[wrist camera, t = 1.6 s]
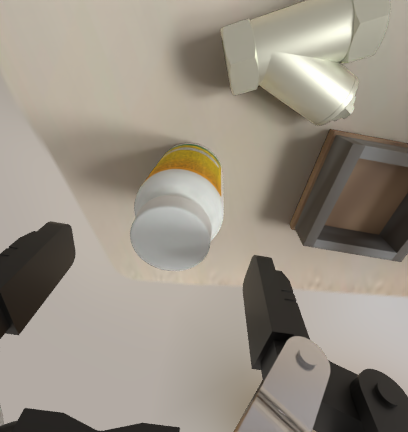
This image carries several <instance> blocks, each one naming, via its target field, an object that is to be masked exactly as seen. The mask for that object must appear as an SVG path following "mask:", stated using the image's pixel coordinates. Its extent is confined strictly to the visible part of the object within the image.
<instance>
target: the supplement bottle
mask: <svg viewBox="0 0 408 432" xmlns="http://www.w3.org/2000/svg"><path fill="white" fill-rule="evenodd" d="M134 211H135V217H136V218H135V220H134V222H133V224H132V227H131V231H130V239H131V243H132V246H133V248H134V250H135V252H136V253H137V254H138V256H139V257H140V258H141V259H143V260H144V261H145V262H147V263H148V264H150V265H151V266H154V267H156V268H159V269H162V270H167V271H182V270H187V269H190V268H192V267H194V266H196V265H198V264H199V263H200V262H202V261H203V259H204V258H205V257H206V255H207V254H208V251H209V248H210V242H211V240H212V239H213V238H214V237H215V236H216V235H217V233H218V232H219V230H220V228H221V225H222V222H223V216H224V195H223V170H222V167H221V164H220V162H219V160H218V158H217V157H216V156H215V155H214V154H213V153H212V152H211V151H210V150H209V149H207V148H206V147H204V146H202V145H199V144H195V143H183V144H179V145H176V146H174V147H173V148H171V149H170V150H169V151H167V153H166V154H165V155H164V156H163V157H162V159H161V160H160V161H159V163H158V164H157V165H156V167H155V168H154V169H153V171H152V172H151V173H150V175H149V176H148V177H147V179H146V180H145V181H144V183H143V184H142V185H141V187H140V189H139V191H138V193H137V195H136V199H135V205H134Z"/></svg>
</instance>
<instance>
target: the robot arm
mask: <svg viewBox="0 0 408 432" xmlns="http://www.w3.org/2000/svg"><path fill="white" fill-rule="evenodd" d="M74 259H75V246H74V241H73V234H72V229H71V226H70V225H68V224H62V223H56V222H48V223H46V224H45V225H44V226H43V227H42V228H40V229H39V230H38V231H37V232H35V231H33V232H31V233H29V234H27V235H25V236H23V237H20V238H19V239H18V240H17V241H15V242H14V243H13V244H12V245H10V246H9V248H8V249H5V250H4V251H3V252H2V253H1V254H0V339H1V337H2V336H3V335H4V334H5V333H7V334H14V335H19V334H20V333H21V332H22V330H23V329H24V328H25V326H26V325H27V324H28V322H29V321H30V320H31V318H32V317H33V316H34V314H35V313H36V312H37V310H38V309H39V308H40V306H41V305H42V304H43V303H44V301H45V300H46V298H47V297H48V296H49V294H50V293H51V292H52V291H53V289H54V288H55V287H56V285H57V284H58V283H59V282H60V280H61V279H62V278H63V276H64V275H65V273H66V272H67V271H68V270H69V268H70V267H71V266H72V264H73V262H74ZM243 298H244V305H245V314H246V323H247V332H248V340H249V349H250V357H251V365H252V369H257V370H261V371H262V377H263V380H262V382H261V384H260V385H259V387H258V389H257V391H256V393H255V394H254V396H253V398H252V400H251V402H250V403H249V405H248V407H247V408H246V410H245V412H244V414H243V416H242V417H241V419H240V421H239V423H238V424H237V426H236V428H235V430H234V431H233V432H312V429H313V430H315V431H317V432H408V397H407V395H406V394H405V392H404V391H403V390H402V389H401V388H400V386H399V385H398V384H397V383H396V382H395V381H393V380H392V379H391V378H390V377H388V376H387V375H385V374H383V373H382V372H379V371H377V370H374V369H366V370H363V371H362V372H361V373H360V374H359V375H357V374H355V373H353V372H351V371H349V370H347V369H345V368H342V367H340V366H338V365H336V364H334V363H332V362H330V361H329V360H328V359H327V357H326V355H325V354H324V352H323V351H322V350H321V349H320V347H319V346H318V345H316V344H315V343H314V342H312V341H311V340H310V338H309V336H308V333H307V330H306V327H305V324H304V321H303V318H302V316H301V313H300V310H299V307H298V304H297V303H296V298H295V295H294V294H293V290H292V287H291V284H290V281H289V280H288V279H287V277H286V276H285V275H284V274H283V272H282V271H277V270H275V267H274V264H273V260H272V258H270V257H264V256H257V255H254V256H253V257H252V259H251V262H250V265H249V268H248V270H247V273H246V276H245V279H244V283H243ZM179 430H180V428H179V427H171V426H163V425H155V424H147V423H140V424H135V425H130V426H125V427H120V428H115V429H110V430H105V431H97V430H95V429H93V428H91V427H89V426H87V425H85V424H83V423H81V422H80V421H77V420H76V419H74V418H72V417H70V416H68V415H66V414H64V413H60V412H52V411H44V410H36V409H28V408H25V409H24V410H23V412H22V414H21V416H20V417H19V419H18V421H14V422H11V423H8V424H4V422H3V414H2V410H1V407H0V432H179Z"/></svg>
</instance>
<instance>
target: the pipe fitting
mask: <svg viewBox="0 0 408 432" xmlns="http://www.w3.org/2000/svg"><path fill="white" fill-rule="evenodd" d="M390 10H391V0H306V1H304V2H301V3H298V4H295V5H292V6H289V7H286V8H283V9H280V10H278V11H275V12H272V13H269V14H266V15H263V16H260V17H257V18H255V19H252V20H249V19H245V20H242V21H239V22H237V23H234V24H231V25H228V26H225V27H223V28H221V29H220V32H221V39H222V45H223V51H224V57H225V62H226V68H227V73H228V78H229V83H230V88H231V92H232V94H233V95H235V96H236V95H239V94H242V93H246V92H249V91H253V90H256V89H257V88H258V86H261V87H262V88H263V89H265V90H266V91H268V92H269V93H271V94H272V95H273V96H275V97H276V98H278V99H279V100H280V101H282V102H283V103H285V104H286V105H288V106H289V107H290V108H292V109H293V110H295V111H296V112H297V113H299V114H300V115H302V116H303V117H305V118H306V119H307V120H309V121H310V122H312V123H313V124H315V125H317V126H321V125H324V124H326V123H328V122H330V121H331V120H333V121H337V120H338V119H340V118H343V119H345V118H347V117H348V116H349V115H350V114H351V113H352V112H353V110H354V106H353V104H354V102H355V99H356V96H354V95H355V93H356V91H357V89H358V85H359V80H358V78H357V77H356V76H355V75H353V74H352V73H351V72H350V71H349V70H347V69H346V68H345V67H344V66H343V65H341V64H340V63H349V62H352V61H356V60H359V59H363V58H366V57H370V56H373V55H374V54H375V52H376V51H377V49H378V47H379V46H380V44H381V42H382V40H383V38H384V35H385V33H386V30H387V26H388V22H389V17H390Z"/></svg>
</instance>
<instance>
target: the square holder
mask: <svg viewBox="0 0 408 432" xmlns="http://www.w3.org/2000/svg"><path fill="white" fill-rule="evenodd" d="M290 227H291V229H292V230H296V232H297V234H298V236H299V238H300V240H301V242H302V244H303V246H309V247H315V248H320V249H326V250H332V251H338V252H344V253H350V254H356V255H362V256H368V257H374V258H380V259H386V260H392V261H398V262H401V261H402V260H403V259H404V257H405V256H406V255H407V254H408V143H402V142H397V141H392V140H386V139H381V138H375V137H370V136H365V135H359V134H354V133H348V132H343V131H338V130H332V129H330V131H329V133H328V135H327V138H326V140H325V142H324V145H323V147H322V150H321V152H320V154H319V157H318V159H317V161H316V164H315V166H314V168H313V171H312V173H311V175H310V178H309V180H308V182H307V185H306V187H305V189H304V192H303V194H302V197H301V199H300V201H299V204H298V206H297V208H296V211H295V213H294V215H293V218H292V220H291V222H290Z"/></svg>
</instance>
